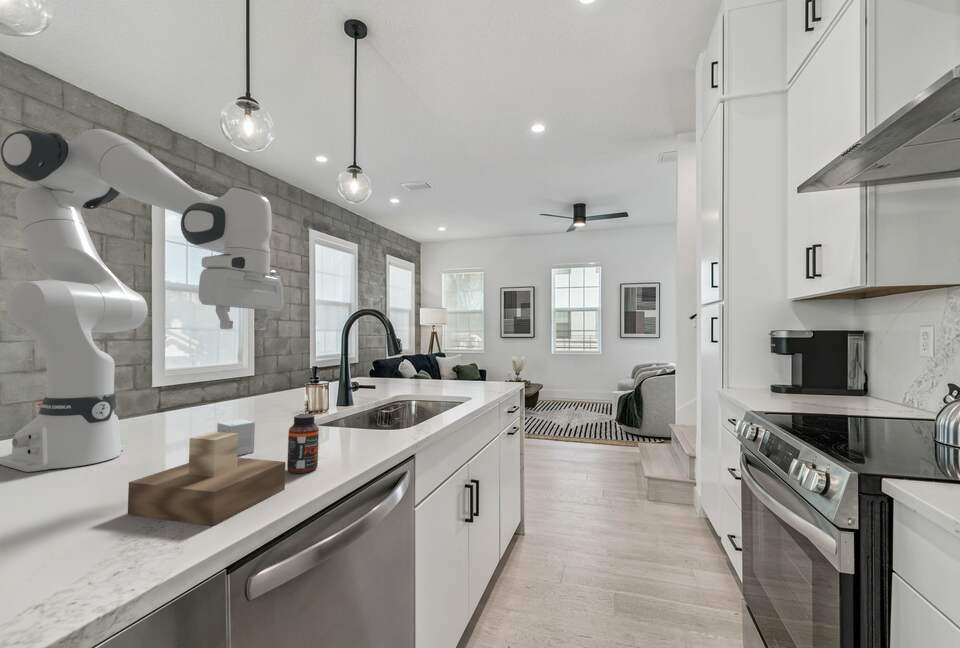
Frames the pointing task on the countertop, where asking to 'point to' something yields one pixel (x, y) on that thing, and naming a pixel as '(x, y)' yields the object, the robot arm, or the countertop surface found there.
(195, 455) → the maple block
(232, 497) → the walnut base
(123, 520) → the countertop surface
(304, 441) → the supplement bottle
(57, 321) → the robot arm
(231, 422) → the product box
